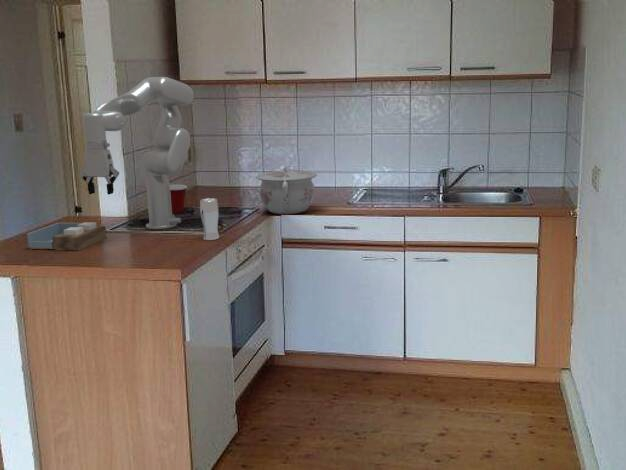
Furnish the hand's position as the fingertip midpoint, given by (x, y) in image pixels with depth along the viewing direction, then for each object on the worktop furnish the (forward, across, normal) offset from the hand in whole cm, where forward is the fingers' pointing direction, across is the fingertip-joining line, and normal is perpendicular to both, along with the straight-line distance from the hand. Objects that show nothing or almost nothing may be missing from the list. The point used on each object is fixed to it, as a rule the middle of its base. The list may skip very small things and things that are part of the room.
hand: (101, 193), depth 261 cm
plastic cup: (+19, -1, -62) cm, 65 cm away
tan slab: (+19, +8, +4) cm, 21 cm away
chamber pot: (+19, -54, -64) cm, 86 cm away
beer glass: (+19, -39, -10) cm, 45 cm away
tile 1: (+14, +8, 0) cm, 16 cm away
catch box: (+19, +18, +4) cm, 27 cm away
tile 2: (+14, +8, +9) cm, 18 cm away
